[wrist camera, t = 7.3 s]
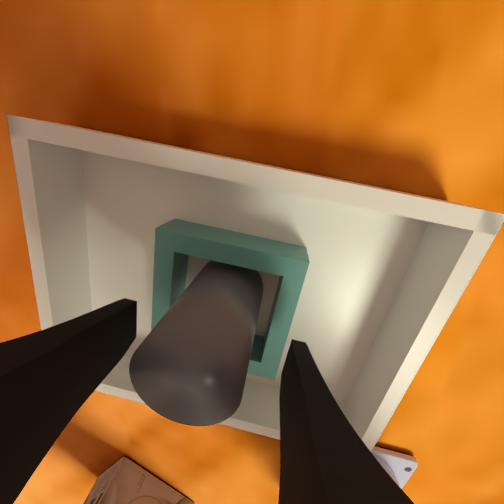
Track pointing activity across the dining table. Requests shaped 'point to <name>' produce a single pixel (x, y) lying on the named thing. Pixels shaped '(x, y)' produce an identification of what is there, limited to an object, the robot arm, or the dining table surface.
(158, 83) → the dining table surface
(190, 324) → the cylinder
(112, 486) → the coffee box
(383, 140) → the dining table surface
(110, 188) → the walled box
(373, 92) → the dining table surface
